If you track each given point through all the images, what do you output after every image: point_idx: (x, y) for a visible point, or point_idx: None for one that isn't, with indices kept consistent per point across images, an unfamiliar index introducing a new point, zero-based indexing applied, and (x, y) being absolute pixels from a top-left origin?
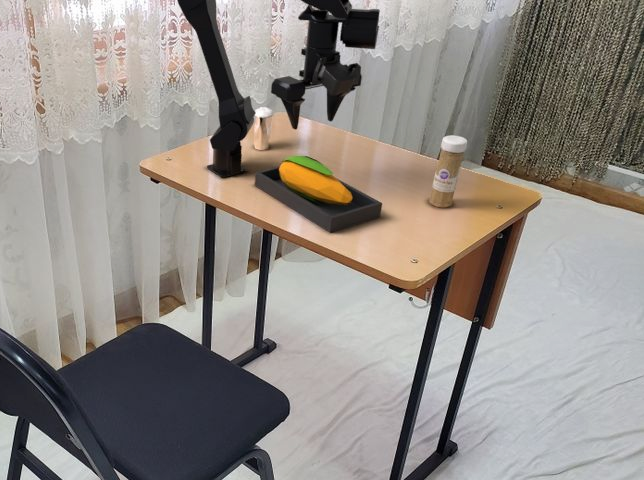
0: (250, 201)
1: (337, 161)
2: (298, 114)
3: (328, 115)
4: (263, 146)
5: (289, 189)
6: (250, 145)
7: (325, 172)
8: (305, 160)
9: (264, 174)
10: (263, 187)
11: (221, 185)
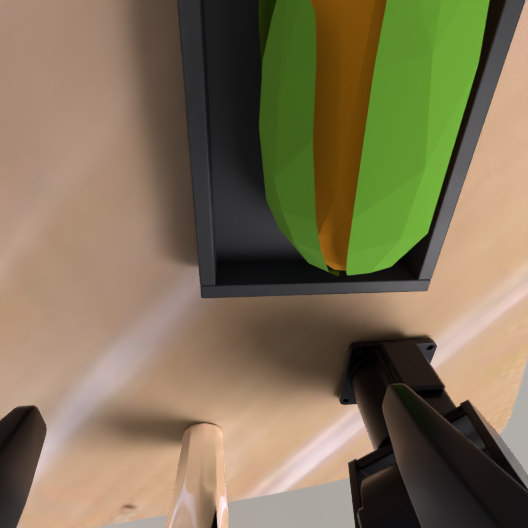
0: (514, 173)
1: (16, 288)
2: (502, 512)
3: (27, 467)
4: (208, 432)
5: None
6: None
7: None
8: (434, 126)
9: (395, 274)
10: None
11: (471, 306)
